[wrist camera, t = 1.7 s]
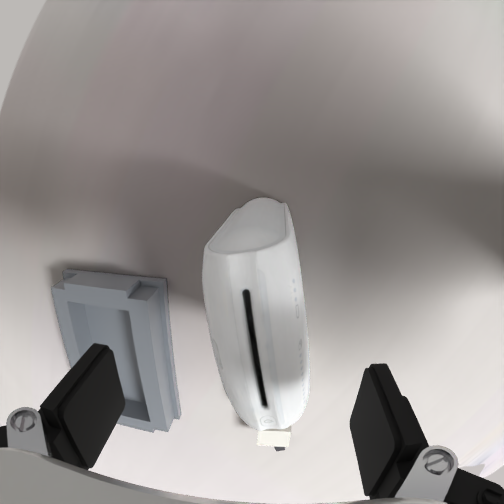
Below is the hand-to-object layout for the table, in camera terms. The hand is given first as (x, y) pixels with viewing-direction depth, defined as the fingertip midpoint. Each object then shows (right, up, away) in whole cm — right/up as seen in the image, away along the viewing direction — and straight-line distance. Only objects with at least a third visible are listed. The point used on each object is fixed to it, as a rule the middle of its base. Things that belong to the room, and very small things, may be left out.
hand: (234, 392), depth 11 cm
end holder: (-11, -4, +16) cm, 20 cm away
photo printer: (+2, +4, +13) cm, 14 cm away
